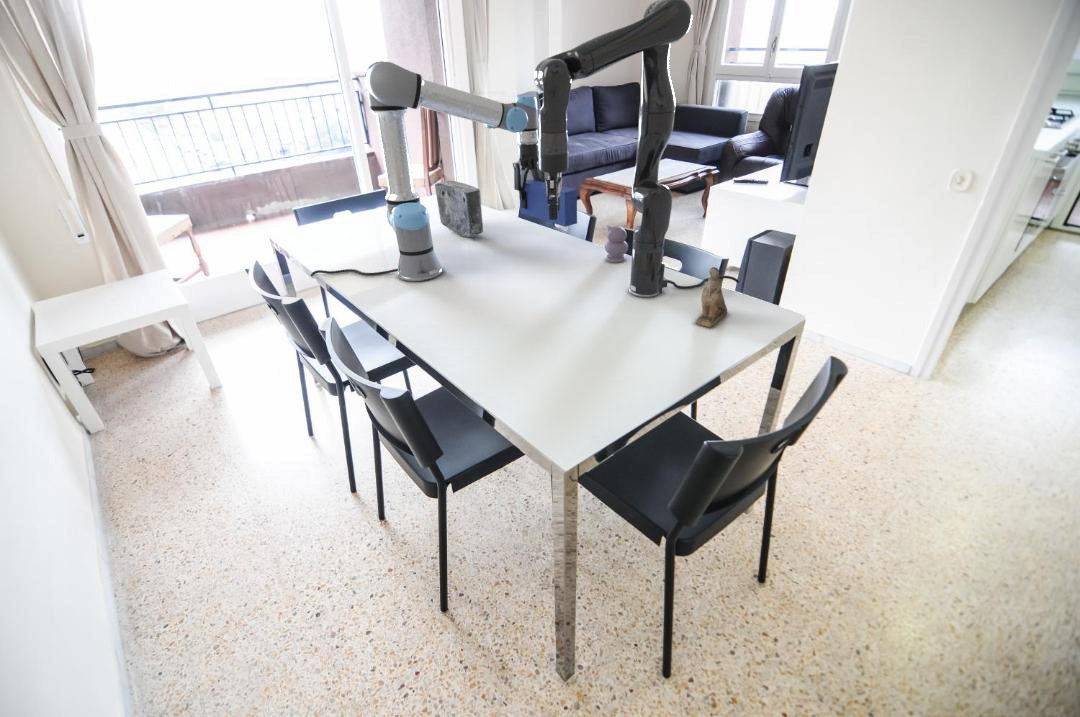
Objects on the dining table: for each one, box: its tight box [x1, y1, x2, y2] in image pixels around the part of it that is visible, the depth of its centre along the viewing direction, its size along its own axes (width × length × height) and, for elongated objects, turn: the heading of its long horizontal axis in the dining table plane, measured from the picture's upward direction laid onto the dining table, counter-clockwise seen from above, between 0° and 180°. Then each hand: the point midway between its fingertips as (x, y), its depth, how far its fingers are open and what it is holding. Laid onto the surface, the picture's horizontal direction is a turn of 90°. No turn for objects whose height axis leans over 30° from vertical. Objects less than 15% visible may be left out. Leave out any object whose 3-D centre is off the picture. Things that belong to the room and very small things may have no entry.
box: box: [519, 178, 578, 228], centre depth 186 cm, size 27×6×12 cm, turn 39°
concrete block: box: [434, 180, 484, 238], centre depth 209 cm, size 27×9×20 cm, turn 36°
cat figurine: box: [604, 225, 629, 264], centre depth 178 cm, size 9×8×12 cm
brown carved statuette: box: [695, 266, 728, 328], centre depth 135 cm, size 12×6×18 cm, turn 136°
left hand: (530, 206), depth 195 cm, fingers closed on box, 6 cm apart
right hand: (554, 214), depth 134 cm, fingers open, 8 cm apart
